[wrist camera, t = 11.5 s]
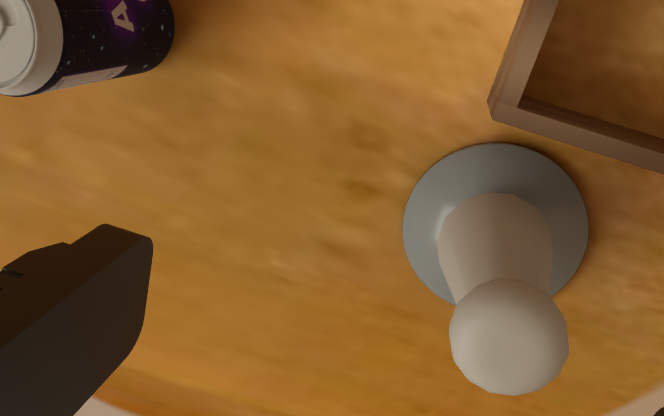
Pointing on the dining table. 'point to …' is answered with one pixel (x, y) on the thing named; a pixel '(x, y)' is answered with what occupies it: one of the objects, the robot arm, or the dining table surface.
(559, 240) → the slate coaster
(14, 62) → the beverage can
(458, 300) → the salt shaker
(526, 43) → the walnut box
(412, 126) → the dining table surface
